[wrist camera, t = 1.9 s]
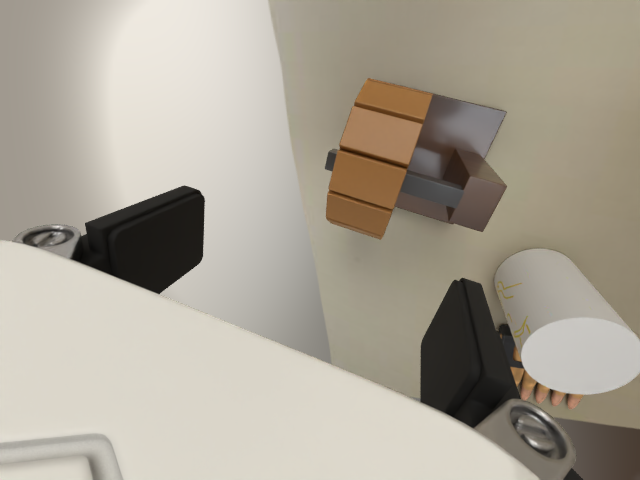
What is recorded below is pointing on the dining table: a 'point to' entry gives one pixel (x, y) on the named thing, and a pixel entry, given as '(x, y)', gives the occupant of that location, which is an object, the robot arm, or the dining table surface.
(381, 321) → the dining table surface
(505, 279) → the cup
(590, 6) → the dining table surface
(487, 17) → the dining table surface
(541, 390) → the ammunition clip
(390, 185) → the segmented brown cylinder
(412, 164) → the hook stand
